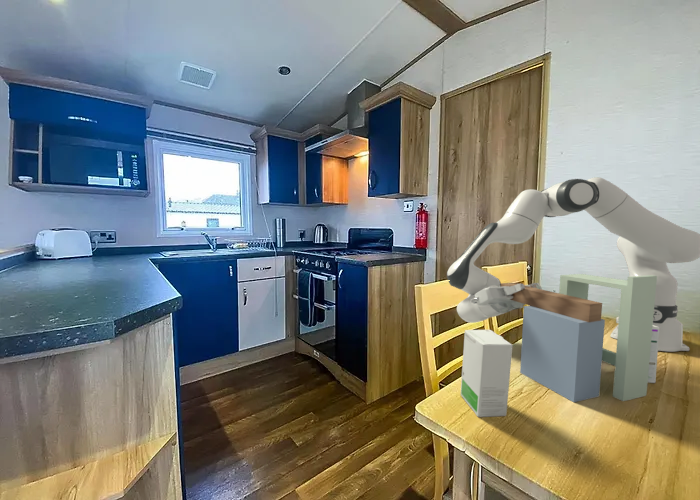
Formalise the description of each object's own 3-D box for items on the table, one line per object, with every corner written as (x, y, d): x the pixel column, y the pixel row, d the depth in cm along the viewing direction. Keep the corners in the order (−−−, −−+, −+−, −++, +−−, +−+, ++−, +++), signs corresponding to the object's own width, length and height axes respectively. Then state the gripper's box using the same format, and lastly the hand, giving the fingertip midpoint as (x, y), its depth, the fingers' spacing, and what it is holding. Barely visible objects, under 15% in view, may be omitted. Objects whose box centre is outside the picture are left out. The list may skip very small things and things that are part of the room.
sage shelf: (554, 368, 81) (560, 267, 79) (575, 364, 83) (582, 266, 81) (623, 401, 66) (633, 277, 64) (646, 395, 68) (656, 275, 66)
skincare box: (459, 395, 68) (462, 329, 67) (487, 394, 68) (490, 328, 67) (478, 418, 59) (482, 343, 58) (509, 417, 60) (513, 342, 59)
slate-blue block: (520, 372, 79) (523, 306, 77) (542, 368, 81) (546, 304, 80) (573, 402, 65) (579, 322, 64) (599, 396, 68) (604, 319, 66)
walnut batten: (500, 296, 87) (500, 283, 87) (510, 295, 88) (511, 282, 88) (588, 322, 64) (590, 304, 64) (600, 320, 66) (602, 303, 65)
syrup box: (656, 383, 74) (661, 327, 72) (629, 381, 75) (633, 325, 74) (639, 372, 79) (643, 320, 78) (613, 370, 80) (618, 318, 79)
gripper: (464, 292, 90) (495, 276, 78) (516, 289, 96) (553, 273, 84) (470, 312, 87) (503, 299, 75) (524, 308, 94) (562, 295, 82)
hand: (530, 285), depth 80 cm, fingers closed on walnut batten, 4 cm apart
